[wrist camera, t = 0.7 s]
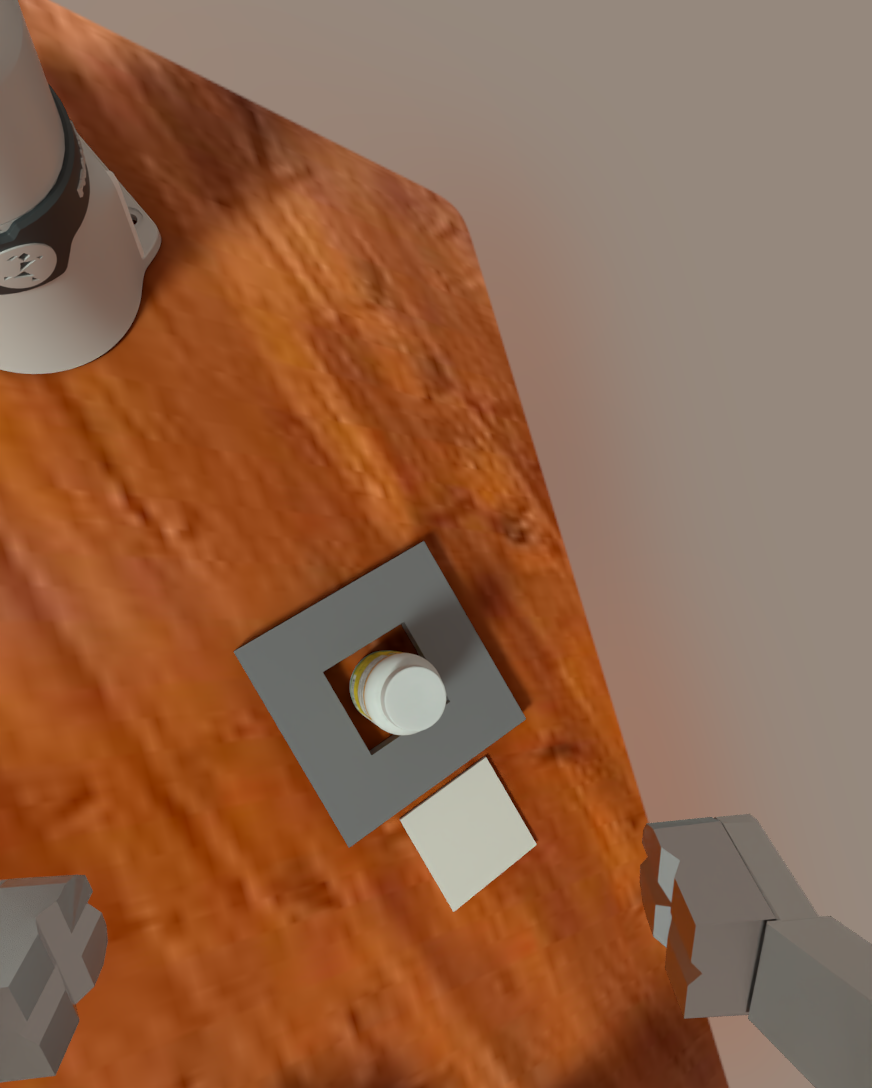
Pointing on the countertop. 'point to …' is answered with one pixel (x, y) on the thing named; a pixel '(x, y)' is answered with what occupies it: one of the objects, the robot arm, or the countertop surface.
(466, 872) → the mat
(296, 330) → the countertop surface
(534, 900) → the countertop surface
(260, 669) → the housing plate
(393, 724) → the supplement bottle
